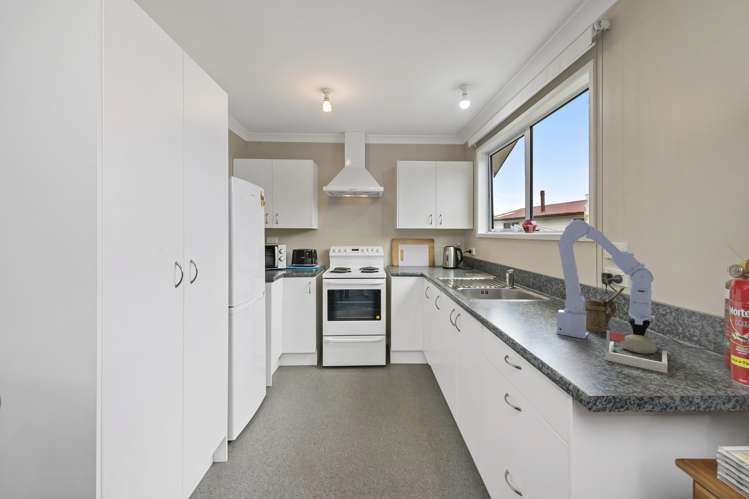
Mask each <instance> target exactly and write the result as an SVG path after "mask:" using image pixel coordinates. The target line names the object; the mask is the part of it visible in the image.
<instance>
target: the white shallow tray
mask: <svg viewBox="0 0 749 499" xmlns="http://www.w3.org/2000/svg"><path fill="white" fill-rule="evenodd" d="M625 336H626V334H625V333H624V332H616V331H610V330H608V331H607V332H606V337H605V338H606V341H605V342H606V343H605V352H604V353H605V355H604V356H605V357H604V360H605V361H607V362H613V363H617V364H622V365H627V366H631V367H635V368H641V369H646V370H650V371H655V372H659V373H664V374H668V351H666V350H662V351H661V361H656V360H651V359H647V358H642V357H637V356H633V355H632V356H631V355H628V354H623V353H617V352H614V349H615V342H614V341H617V342H621V341H623V342H625Z"/></svg>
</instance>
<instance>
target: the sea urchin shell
mask: <svg viewBox="0 0 749 499" xmlns="http://www.w3.org/2000/svg"><path fill="white" fill-rule="evenodd" d="M620 345H621V347H622V348H623V349H624V350H627V351H630V352H634V353H637V354H645V355H646V354H648V355H649V354H654V353H656V352H657V351H658V346H657V344H656V343H655V342H654V341H653V340H652V339H650V338H649V337H647V336H641V335H634V334H629V335H625V342H623V341H620Z"/></svg>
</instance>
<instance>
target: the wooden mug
mask: <svg viewBox="0 0 749 499" xmlns="http://www.w3.org/2000/svg"><path fill="white" fill-rule="evenodd" d="M624 290H625V287H622V288H621V287H620V288H619V289H618V290H617V291H616V292H615V293H614V294H613V295H612V296H611V297H610V298H609V300H604V301H599V300H586V304H585V307H584V310H585V311H586V331H591V332H597V333H607V331H610V327H609V324H610V323H609V322H610V320H611V319H612V318H613V317H614V316H615V315H616V313H617V312H616V311H617V305H616V303H615V302H614V300H615V299H616V298H617V297H619V295H620V294H621V293H622V292H623V291H624ZM608 308H609V309H610V311H609V312H608V313H607V310H608Z"/></svg>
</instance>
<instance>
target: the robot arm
mask: <svg viewBox="0 0 749 499" xmlns="http://www.w3.org/2000/svg"><path fill="white" fill-rule="evenodd" d="M584 236H585V239H589V240H591V241H594V242H595V243H596V244H597V245H598V246H600V247H601V248H602V249H604V250H605V251H606V253H608V254H609V256H611V262H612V263H613V264H614V265H615V266H616V267H617V268H618V269H619V270H621V271H622V272H623V274H625V275H627V276H629V278H630V280H631V285H630V286H631V287H630V288H629V291H630V292H629V307H628V308H629V309H628V310H629V311H628V317H630V318H629V320H628V322H629V325H630V327H631V328H632V333H633V334H632V335H641V336H644V337H646V336H645V334H646V331H647V329H648V328H649V327H650V325H651V321H650V320H652V319H653V320H655V319H656V316H655V315H652V283H653V281H654V276H653V274H652V272H651V271H650V270H649V269H648V268H647V267H645V266H646V265H645V264H644V263H641V262H640V261H639V260H638V259H636V258H635V256H634V253H633V252H631V251H630V252H628V251H627V250H621V249H619V248H618V247H616V245H615V244H614V243H612V242H611V240H610V239H609V238H607V237H606V236H605V235H604V234H603V233H602V232H601V231H600V230H598V229H597V228H596V227H594V226H592V225H590V224H589V223H588V222H587V221H585V220H583V219H575V220H572V221H571V222H570V223H569V224H568V225H567V226H565V229H564V230H563V232H562V234H561V236H560V237H559V240H558V242H557V245H558V249H559V251H558V252H559V256H560V261H561V262H560V263H561V266H562V268H561V269H562V274H563V279H564V285H565V296H566V297H565V298H566V299H565V301H564V306H565V308H564V309H558V311H557V314H556V316H557V317H556V334H557V335H563V336H568V337H574V338H579V339H584V340H585V339H587V336H588V335H589V332H587V330H586V311H585V310H586V309H585V306H586V304H587V300H586V297H585V296H584V294H583V293H582V289H581V286H580V285H581V284H580V280H579V274H578V267H577V263H576V262H577V261H576V257H575V251H574V245H575V244H576V243H577V242H578V241H579V239H581V238H583V237H584Z"/></svg>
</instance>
